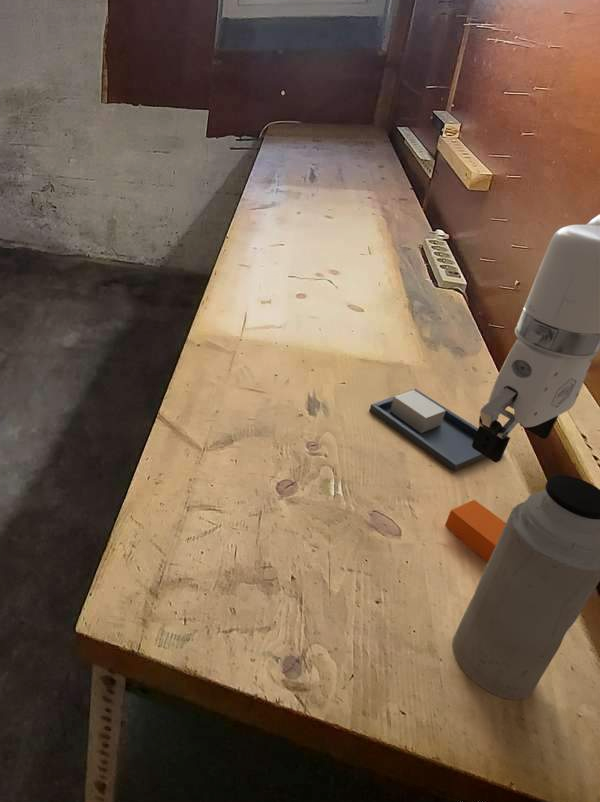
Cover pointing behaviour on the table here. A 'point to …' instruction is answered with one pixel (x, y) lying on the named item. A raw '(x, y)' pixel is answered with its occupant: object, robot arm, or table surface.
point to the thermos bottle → (532, 588)
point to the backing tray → (436, 436)
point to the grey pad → (417, 411)
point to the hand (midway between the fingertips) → (509, 442)
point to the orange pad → (476, 527)
